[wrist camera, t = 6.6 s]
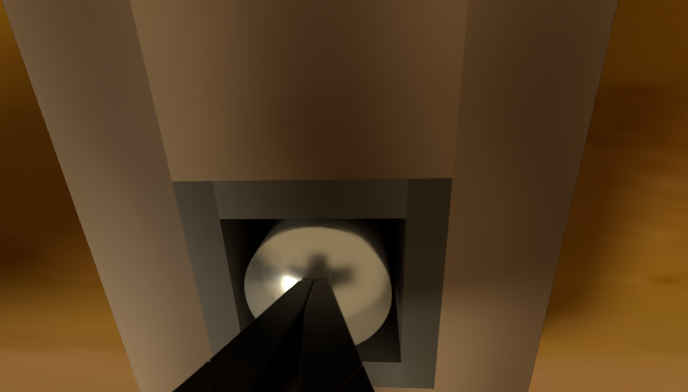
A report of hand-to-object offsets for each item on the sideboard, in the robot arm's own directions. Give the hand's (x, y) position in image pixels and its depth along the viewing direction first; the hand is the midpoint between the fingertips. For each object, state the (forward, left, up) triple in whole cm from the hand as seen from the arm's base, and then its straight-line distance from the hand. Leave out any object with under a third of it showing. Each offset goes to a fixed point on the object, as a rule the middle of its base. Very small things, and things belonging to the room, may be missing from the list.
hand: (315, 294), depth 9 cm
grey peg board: (0, +6, -5) cm, 8 cm away
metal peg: (0, 0, -5) cm, 5 cm away
